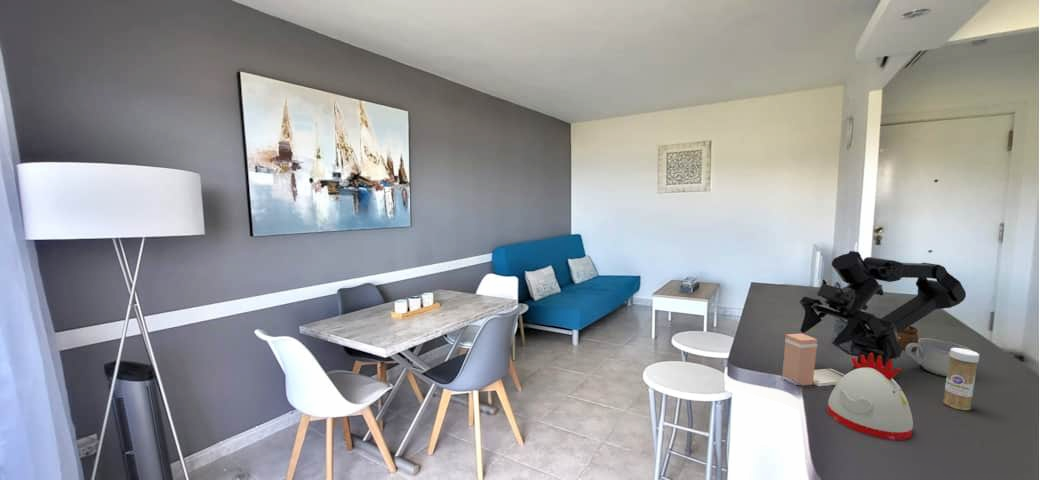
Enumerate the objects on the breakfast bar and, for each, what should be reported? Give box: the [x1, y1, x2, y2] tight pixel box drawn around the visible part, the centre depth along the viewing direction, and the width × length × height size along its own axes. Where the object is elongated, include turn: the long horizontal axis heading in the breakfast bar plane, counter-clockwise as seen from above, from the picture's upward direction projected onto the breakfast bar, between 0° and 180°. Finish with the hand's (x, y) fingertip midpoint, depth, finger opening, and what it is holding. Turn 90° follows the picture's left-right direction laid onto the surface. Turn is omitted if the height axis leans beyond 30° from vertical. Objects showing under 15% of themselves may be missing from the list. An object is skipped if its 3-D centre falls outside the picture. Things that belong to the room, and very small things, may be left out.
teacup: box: [904, 337, 973, 377], centre depth 113 cm, size 14×11×8 cm
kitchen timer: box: [826, 353, 914, 441], centre depth 86 cm, size 14×14×15 cm
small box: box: [831, 317, 860, 356], centre depth 128 cm, size 11×6×10 cm, turn 168°
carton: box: [781, 332, 818, 386], centre depth 105 cm, size 5×5×12 cm
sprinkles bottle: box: [942, 348, 980, 411], centre depth 93 cm, size 5×5×13 cm
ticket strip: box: [813, 368, 846, 387], centre depth 108 cm, size 12×7×1 cm, turn 102°
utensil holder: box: [897, 325, 919, 352], centre depth 131 cm, size 6×6×12 cm
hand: (817, 337), depth 106 cm, fingers open, 9 cm apart
